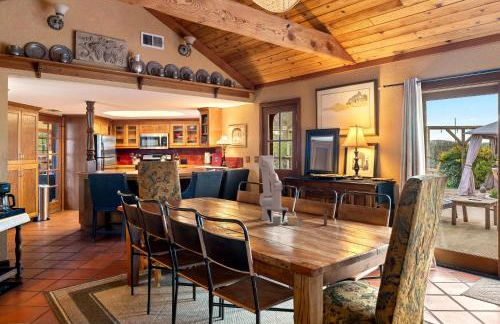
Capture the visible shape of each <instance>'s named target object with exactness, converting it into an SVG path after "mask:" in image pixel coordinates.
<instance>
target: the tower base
mask: <svg viewBox="0 0 500 324" xmlns="http://www.w3.org/2000/svg"><path fill="white" fill-rule="evenodd" d="M287 222H288V225H297V223H298V222H299V221H288V220H287Z"/></svg>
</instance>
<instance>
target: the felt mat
mask: <svg viewBox="0 0 500 324" xmlns="http://www.w3.org/2000/svg"><path fill="white" fill-rule="evenodd" d="M297 222H298V223H297V225H288V221H284V222H283V223H282V225H281V226H282V227H283V226H284V227H302V226H303V222H302V221H300V222H299V221H297Z"/></svg>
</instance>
